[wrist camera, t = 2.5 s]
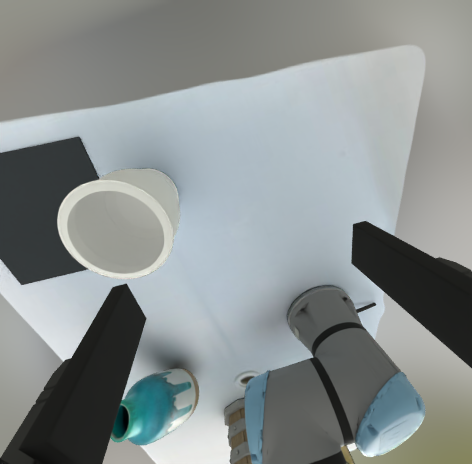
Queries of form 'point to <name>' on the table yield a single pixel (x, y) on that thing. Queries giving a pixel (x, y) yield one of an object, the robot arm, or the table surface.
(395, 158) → the table surface
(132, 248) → the jar
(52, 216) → the mat
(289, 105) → the table surface
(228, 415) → the tankard
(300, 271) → the table surface
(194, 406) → the vase
